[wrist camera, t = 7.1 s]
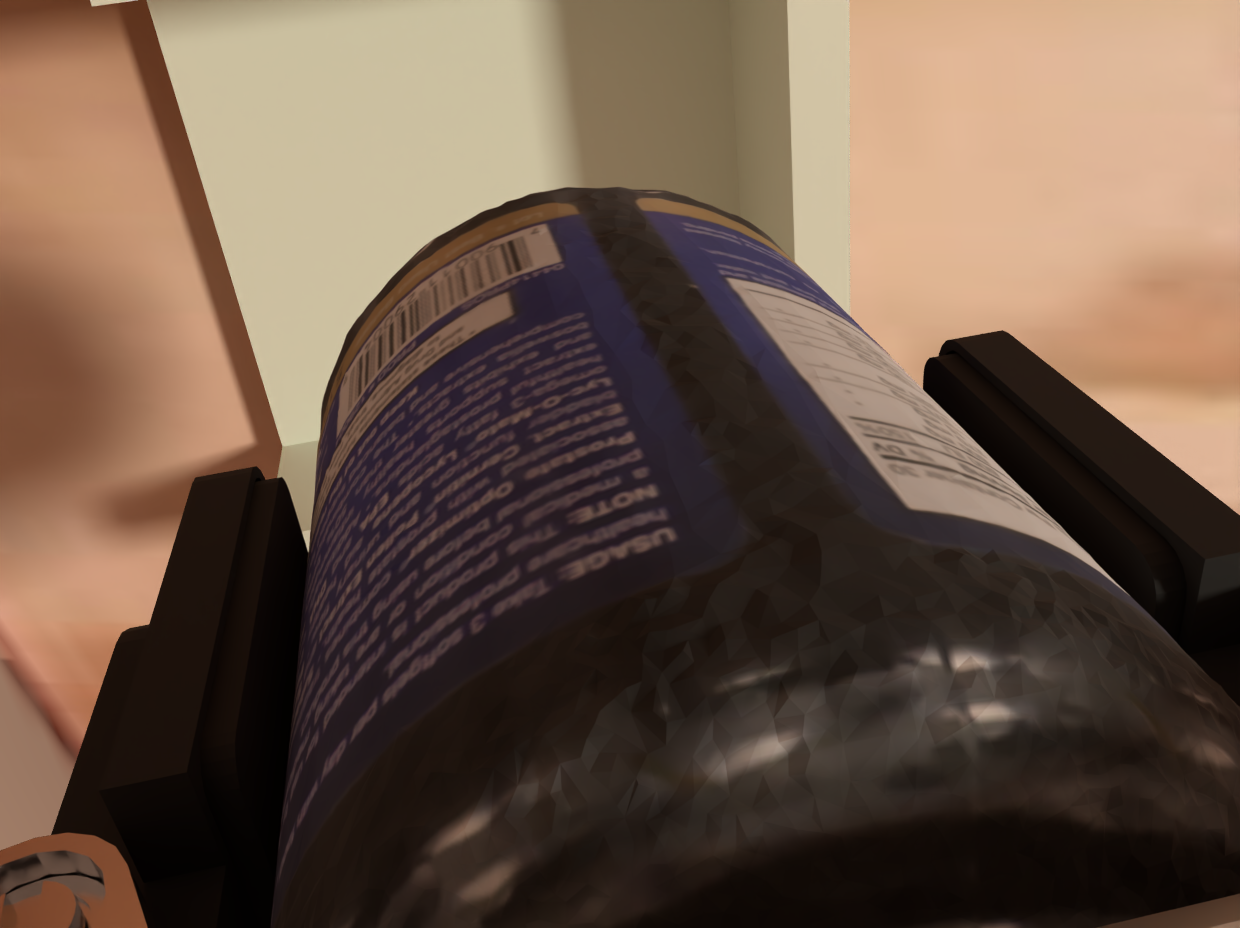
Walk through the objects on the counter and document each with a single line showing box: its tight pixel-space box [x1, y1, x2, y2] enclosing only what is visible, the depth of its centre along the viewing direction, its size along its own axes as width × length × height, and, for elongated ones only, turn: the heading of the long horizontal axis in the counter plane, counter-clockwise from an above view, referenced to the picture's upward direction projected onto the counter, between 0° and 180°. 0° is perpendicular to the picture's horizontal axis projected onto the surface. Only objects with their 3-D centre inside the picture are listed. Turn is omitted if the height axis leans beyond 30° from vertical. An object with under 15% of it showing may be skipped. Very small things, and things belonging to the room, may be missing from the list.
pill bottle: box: [271, 187, 1240, 928], centre depth 8 cm, size 6×6×11 cm
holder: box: [90, 0, 850, 552], centre depth 20 cm, size 11×11×4 cm
